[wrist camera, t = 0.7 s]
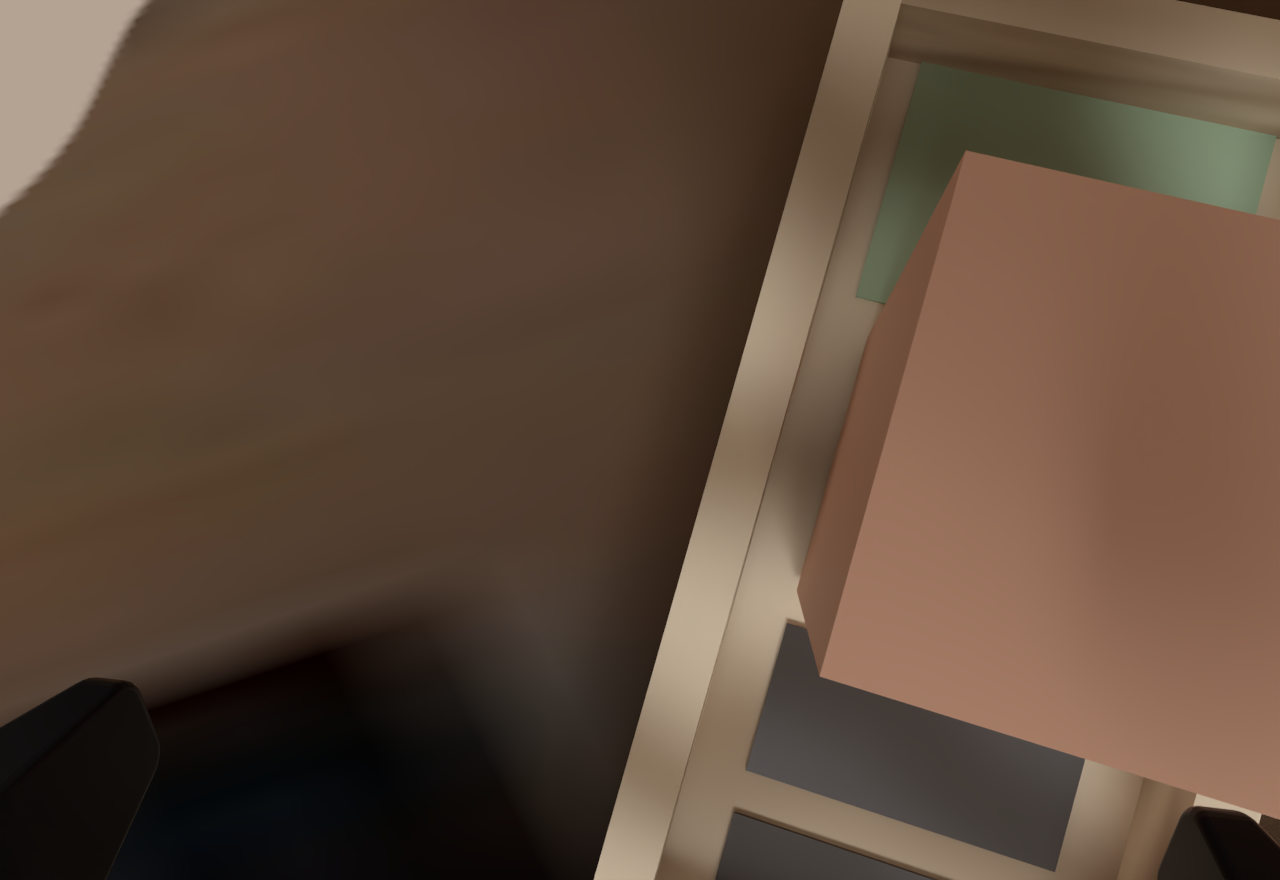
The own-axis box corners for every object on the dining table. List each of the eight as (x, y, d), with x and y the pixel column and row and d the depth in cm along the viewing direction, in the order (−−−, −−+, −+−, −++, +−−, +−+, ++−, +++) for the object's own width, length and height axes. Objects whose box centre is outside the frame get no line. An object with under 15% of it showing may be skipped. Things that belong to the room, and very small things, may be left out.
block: (1108, 683, 21) (1523, 895, 10) (796, 590, 22) (818, 676, 11) (1178, 420, 22) (1670, 306, 10) (866, 340, 23) (965, 150, 11)
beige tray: (1087, 1138, 22) (1146, 1255, 18) (584, 953, 24) (552, 1028, 20) (1355, 124, 23) (1459, 54, 19) (848, 20, 25) (860, -61, 21)
